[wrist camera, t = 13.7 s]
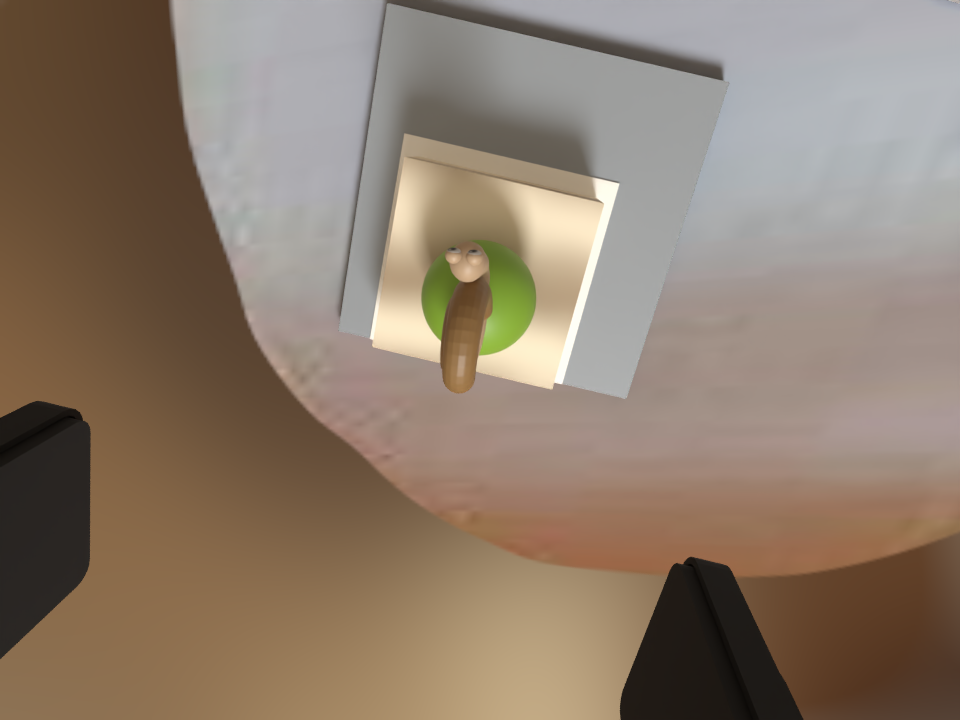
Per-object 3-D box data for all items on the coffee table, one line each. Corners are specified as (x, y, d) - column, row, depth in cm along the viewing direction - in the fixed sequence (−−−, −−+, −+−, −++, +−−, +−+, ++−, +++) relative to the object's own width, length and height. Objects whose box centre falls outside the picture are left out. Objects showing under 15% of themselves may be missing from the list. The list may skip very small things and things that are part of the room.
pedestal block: (418, 156, 34) (404, 156, 30) (596, 198, 34) (604, 203, 30) (388, 327, 37) (372, 346, 33) (550, 365, 37) (552, 389, 33)
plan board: (391, 7, 32) (386, 2, 31) (723, 84, 32) (730, 82, 31) (343, 326, 38) (337, 331, 37) (623, 392, 38) (626, 399, 37)
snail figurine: (544, 218, 30) (550, 257, 19) (529, 342, 32) (527, 444, 21) (435, 207, 30) (377, 239, 19) (428, 331, 33) (371, 426, 21)
